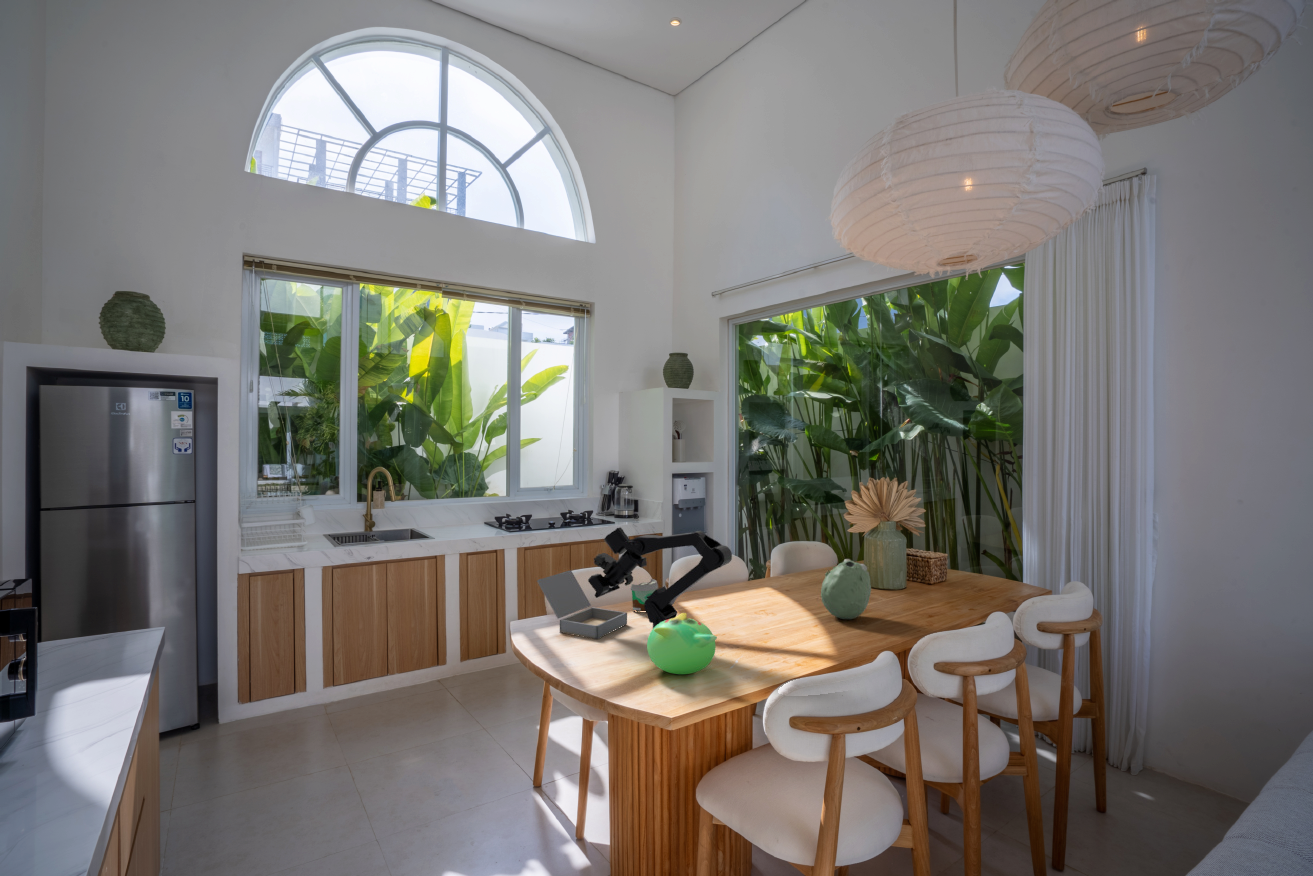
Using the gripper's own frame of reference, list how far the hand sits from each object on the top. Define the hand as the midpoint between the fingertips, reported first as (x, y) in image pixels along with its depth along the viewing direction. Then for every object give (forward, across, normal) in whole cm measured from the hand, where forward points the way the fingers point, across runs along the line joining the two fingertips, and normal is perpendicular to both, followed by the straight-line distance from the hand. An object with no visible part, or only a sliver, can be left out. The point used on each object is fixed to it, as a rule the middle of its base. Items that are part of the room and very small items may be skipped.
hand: (596, 596), depth 205 cm
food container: (+5, -28, +10) cm, 30 cm away
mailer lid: (+9, 0, -9) cm, 12 cm away
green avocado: (-40, -54, +56) cm, 87 cm away
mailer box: (+8, 0, +7) cm, 10 cm away
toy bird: (-21, +21, +37) cm, 47 cm away
